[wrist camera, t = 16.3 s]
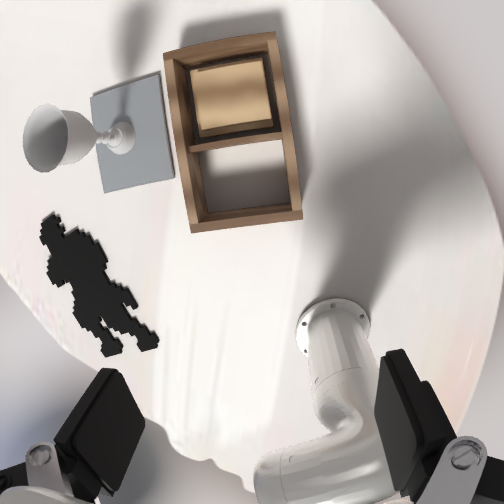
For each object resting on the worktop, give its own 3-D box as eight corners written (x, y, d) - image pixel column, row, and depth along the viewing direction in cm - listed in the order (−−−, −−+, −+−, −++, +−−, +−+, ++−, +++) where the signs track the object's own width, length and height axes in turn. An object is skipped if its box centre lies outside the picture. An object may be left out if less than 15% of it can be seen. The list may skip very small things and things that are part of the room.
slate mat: (174, 177, 44) (173, 178, 43) (106, 192, 45) (104, 193, 44) (159, 75, 39) (157, 74, 38) (92, 98, 40) (89, 97, 39)
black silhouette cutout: (162, 343, 54) (82, 195, 46) (161, 346, 53) (79, 196, 45) (103, 359, 57) (30, 232, 49) (101, 362, 56) (27, 233, 48)
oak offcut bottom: (273, 127, 41) (273, 126, 39) (203, 138, 42) (199, 137, 40) (262, 62, 38) (262, 57, 36) (194, 74, 39) (189, 70, 37)
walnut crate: (299, 210, 44) (303, 219, 38) (201, 222, 46) (191, 233, 40) (275, 45, 37) (275, 31, 31) (176, 63, 38) (162, 53, 32)
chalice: (96, 129, 41) (16, 128, 24) (130, 106, 40) (55, 90, 23) (113, 169, 43) (36, 185, 26) (148, 147, 42) (77, 149, 25)
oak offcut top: (271, 119, 39) (271, 118, 37) (204, 130, 40) (201, 129, 38) (261, 64, 36) (261, 60, 34) (196, 76, 37) (192, 73, 35)
